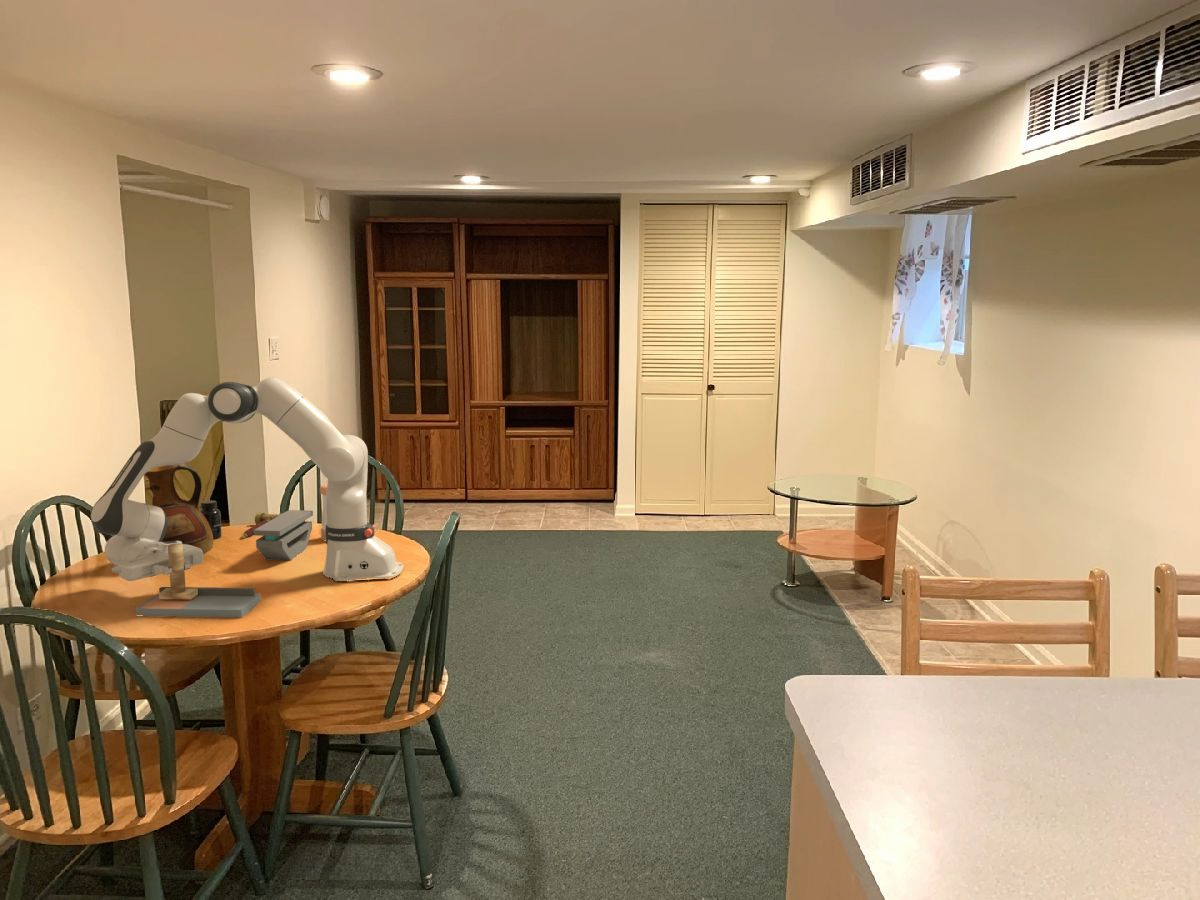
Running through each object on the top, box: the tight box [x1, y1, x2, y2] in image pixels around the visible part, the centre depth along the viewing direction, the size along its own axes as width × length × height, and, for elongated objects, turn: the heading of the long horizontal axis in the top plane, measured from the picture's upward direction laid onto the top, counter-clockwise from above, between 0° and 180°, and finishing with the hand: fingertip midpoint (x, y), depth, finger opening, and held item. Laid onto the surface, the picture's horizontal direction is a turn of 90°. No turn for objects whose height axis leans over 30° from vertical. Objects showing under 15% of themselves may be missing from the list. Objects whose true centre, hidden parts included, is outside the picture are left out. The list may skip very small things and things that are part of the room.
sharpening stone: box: [253, 509, 314, 561], centre depth 268 cm, size 25×8×11 cm, turn 177°
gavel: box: [241, 512, 282, 540], centre depth 295 cm, size 21×5×10 cm
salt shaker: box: [319, 483, 328, 541], centre depth 285 cm, size 7×7×19 cm
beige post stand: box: [158, 543, 198, 600], centre depth 221 cm, size 8×4×14 cm, turn 90°
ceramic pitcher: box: [144, 463, 214, 555], centre depth 259 cm, size 20×20×30 cm
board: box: [135, 586, 261, 618], centre depth 221 cm, size 26×12×4 cm, turn 90°
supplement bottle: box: [199, 500, 223, 540], centre depth 285 cm, size 7×7×12 cm
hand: (178, 568), depth 221 cm, fingers closed on beige post stand, 3 cm apart
